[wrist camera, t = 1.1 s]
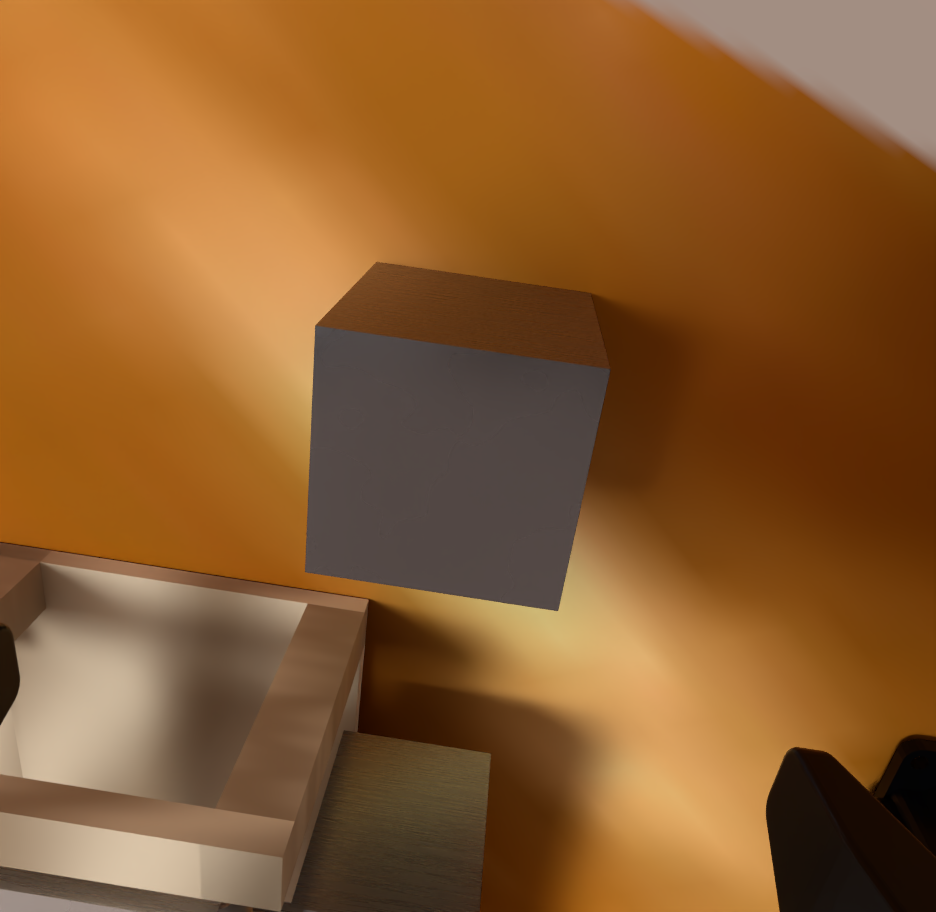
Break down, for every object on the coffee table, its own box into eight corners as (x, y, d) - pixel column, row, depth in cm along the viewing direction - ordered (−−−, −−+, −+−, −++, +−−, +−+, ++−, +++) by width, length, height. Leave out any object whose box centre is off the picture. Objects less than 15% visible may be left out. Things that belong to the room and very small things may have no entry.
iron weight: (590, 292, 18) (610, 369, 13) (553, 482, 20) (557, 611, 15) (377, 261, 18) (315, 325, 13) (362, 454, 20) (305, 572, 15)
